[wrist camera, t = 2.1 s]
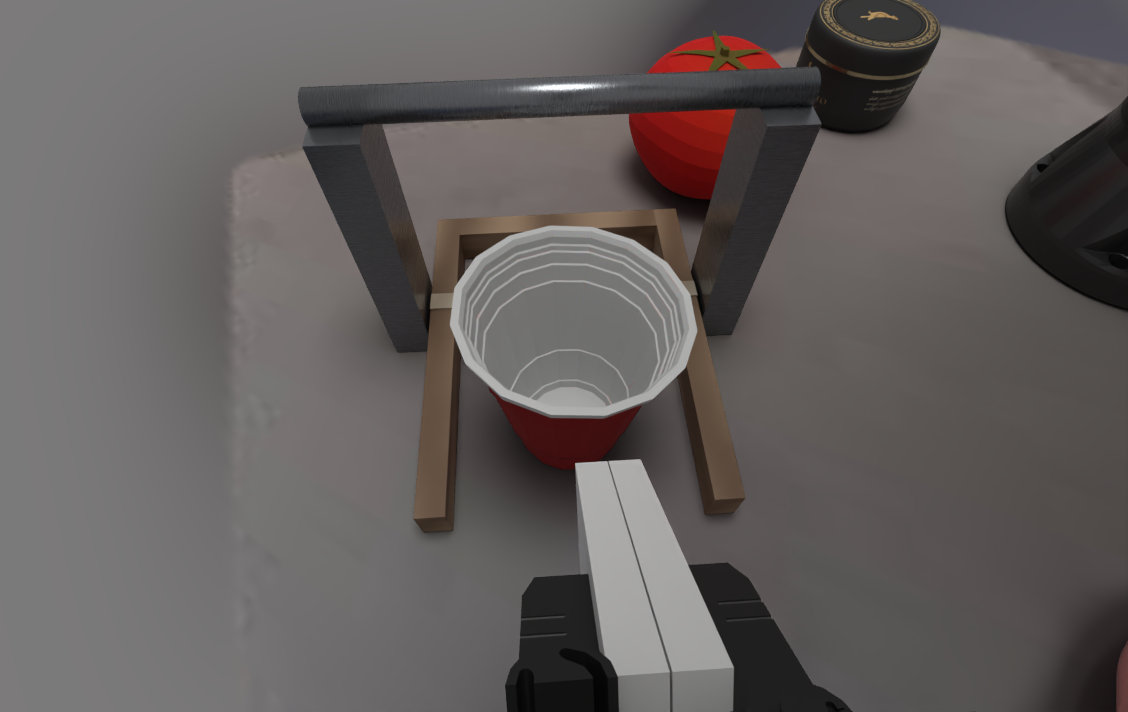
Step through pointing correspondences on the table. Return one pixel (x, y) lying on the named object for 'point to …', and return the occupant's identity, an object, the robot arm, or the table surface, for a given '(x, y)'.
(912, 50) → the jar
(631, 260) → the plastic cup
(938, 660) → the table surface
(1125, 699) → the cell model
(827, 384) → the table surface
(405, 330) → the grey and wooden frame
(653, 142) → the tomato
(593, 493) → the robot arm
